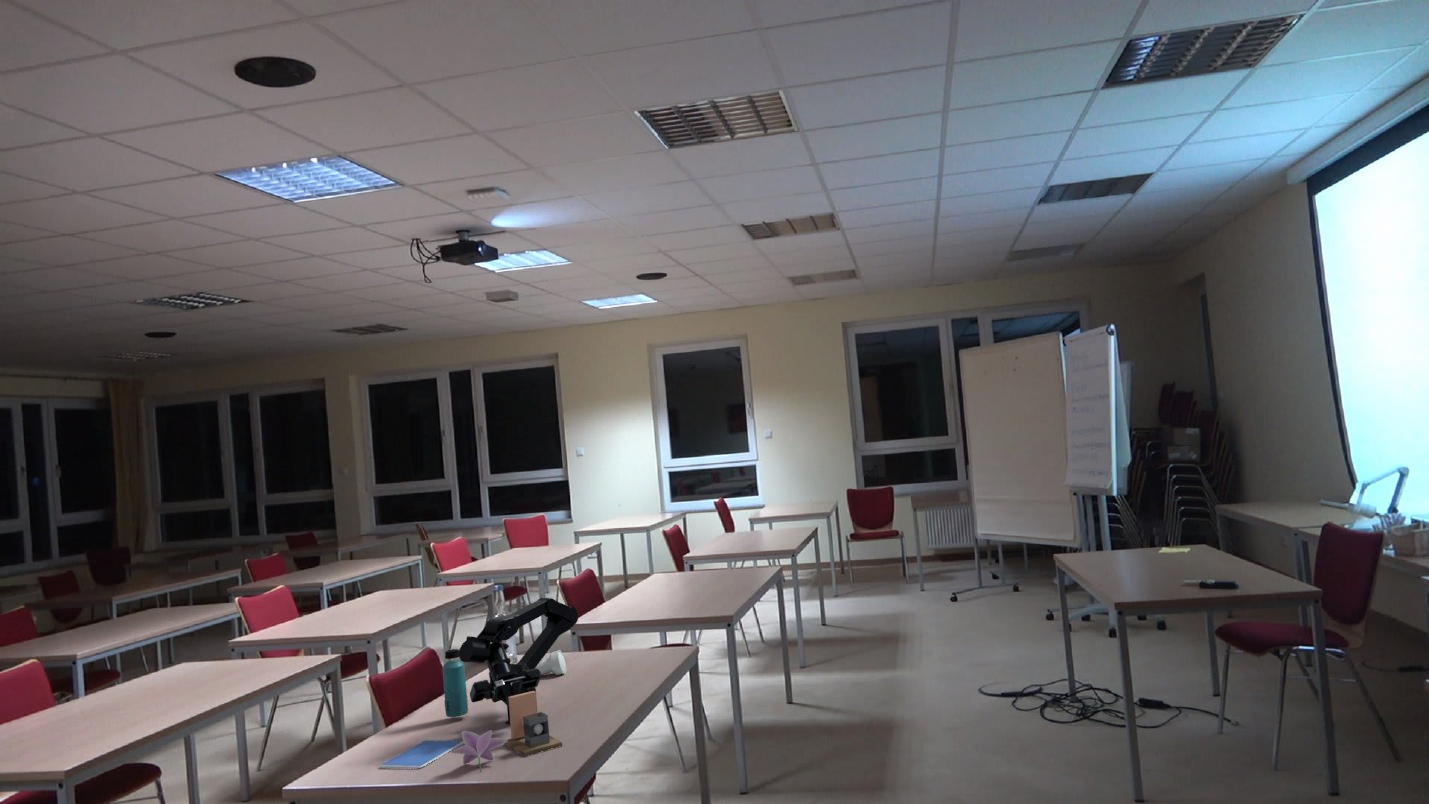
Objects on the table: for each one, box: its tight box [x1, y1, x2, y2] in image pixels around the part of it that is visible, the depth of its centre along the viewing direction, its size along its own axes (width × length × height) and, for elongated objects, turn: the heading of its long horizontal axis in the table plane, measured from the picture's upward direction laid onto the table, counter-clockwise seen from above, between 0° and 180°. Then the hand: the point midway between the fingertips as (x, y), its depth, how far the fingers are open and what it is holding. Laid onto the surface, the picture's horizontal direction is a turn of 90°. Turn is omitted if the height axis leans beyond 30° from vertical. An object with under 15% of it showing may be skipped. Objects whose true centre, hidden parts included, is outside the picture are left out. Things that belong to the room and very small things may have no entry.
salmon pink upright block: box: [508, 691, 543, 739], centre depth 225 cm, size 10×7×10 cm
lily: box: [450, 729, 508, 773], centre depth 210 cm, size 12×12×10 cm
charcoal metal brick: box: [523, 711, 550, 748], centre depth 221 cm, size 4×5×7 cm
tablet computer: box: [379, 739, 464, 770], centre depth 224 cm, size 19×13×1 cm, turn 163°
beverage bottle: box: [441, 648, 469, 718], centre depth 255 cm, size 6×7×20 cm
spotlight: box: [536, 649, 567, 676], centre depth 298 cm, size 8×11×8 cm
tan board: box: [503, 734, 563, 758], centre depth 224 cm, size 14×10×1 cm
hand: (515, 711), depth 231 cm, fingers closed
